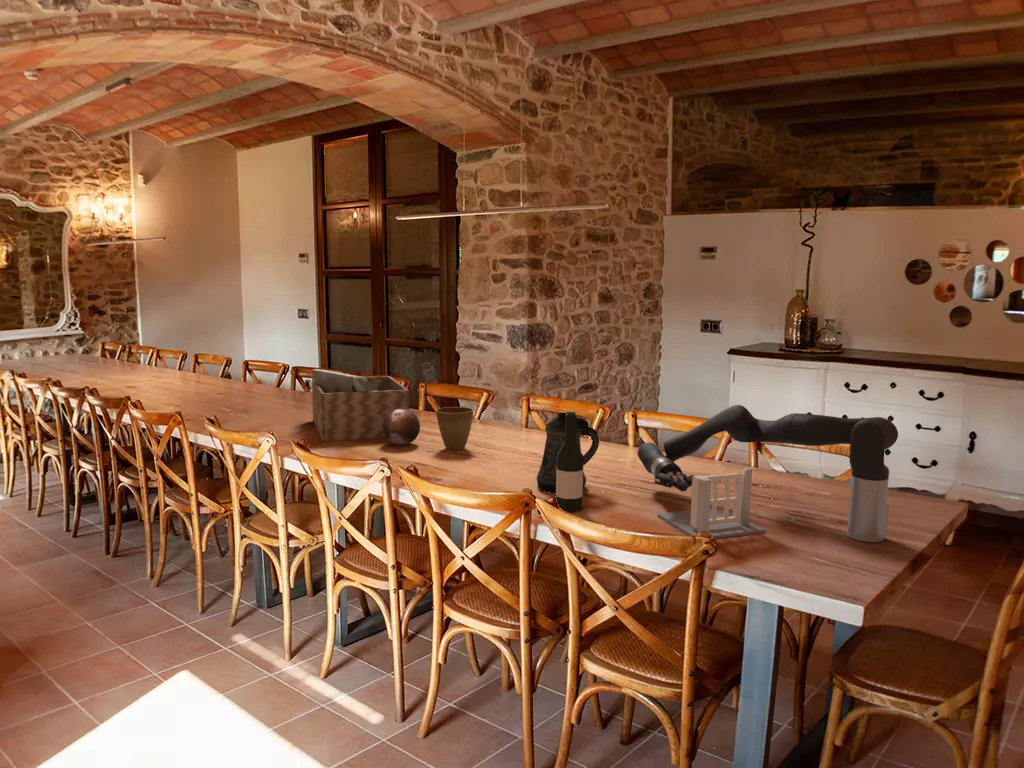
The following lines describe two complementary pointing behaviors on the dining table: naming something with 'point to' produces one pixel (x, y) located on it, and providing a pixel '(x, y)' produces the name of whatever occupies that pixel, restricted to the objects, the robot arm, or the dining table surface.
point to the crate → (357, 410)
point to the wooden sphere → (401, 426)
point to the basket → (340, 382)
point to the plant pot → (455, 426)
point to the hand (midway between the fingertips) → (684, 488)
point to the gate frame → (704, 514)
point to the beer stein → (553, 445)
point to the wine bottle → (569, 469)
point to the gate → (714, 501)
